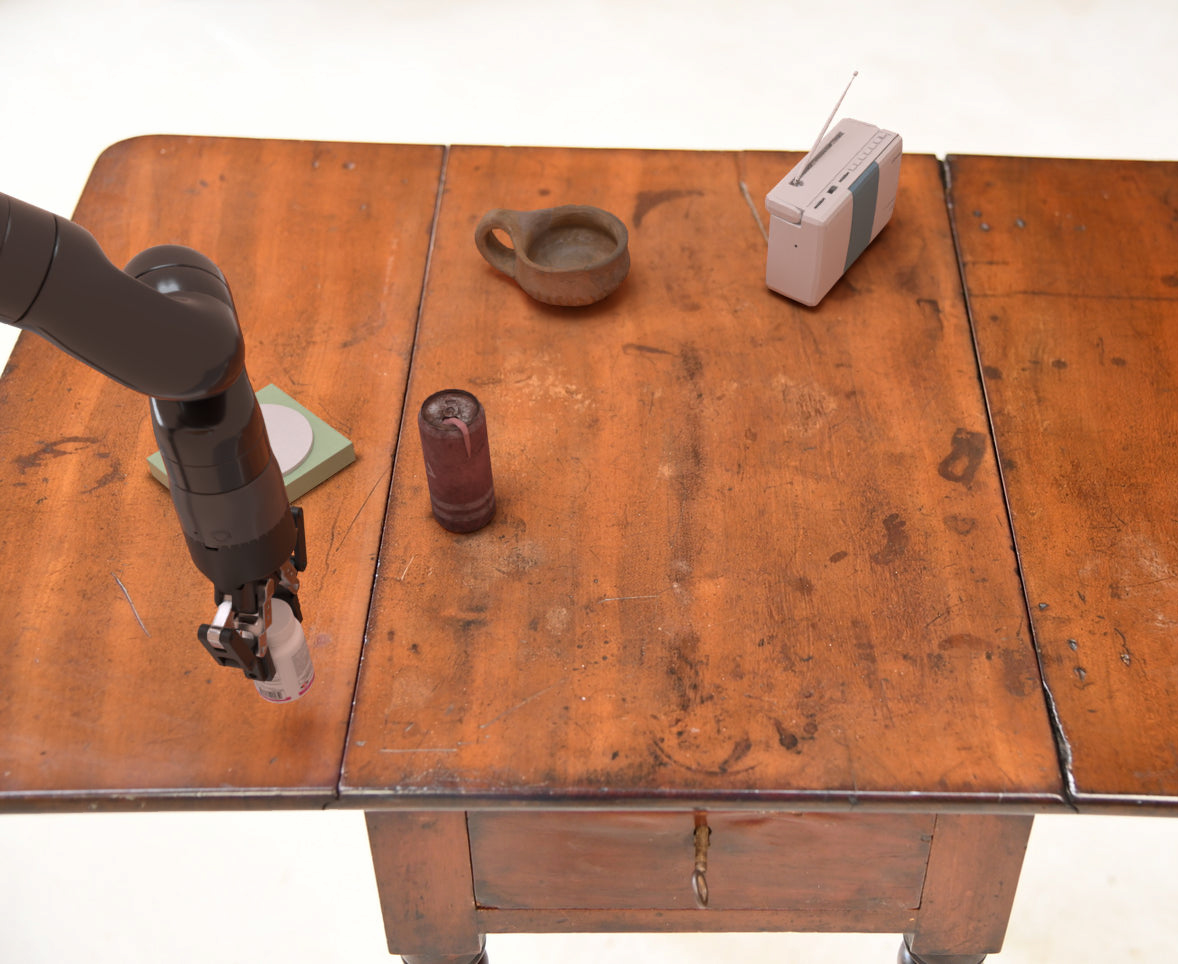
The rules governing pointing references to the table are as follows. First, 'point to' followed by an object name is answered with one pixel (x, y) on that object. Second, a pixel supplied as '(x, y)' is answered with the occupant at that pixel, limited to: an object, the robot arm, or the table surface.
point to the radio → (831, 207)
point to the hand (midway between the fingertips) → (275, 648)
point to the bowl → (558, 251)
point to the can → (457, 459)
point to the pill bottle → (286, 657)
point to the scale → (292, 444)
